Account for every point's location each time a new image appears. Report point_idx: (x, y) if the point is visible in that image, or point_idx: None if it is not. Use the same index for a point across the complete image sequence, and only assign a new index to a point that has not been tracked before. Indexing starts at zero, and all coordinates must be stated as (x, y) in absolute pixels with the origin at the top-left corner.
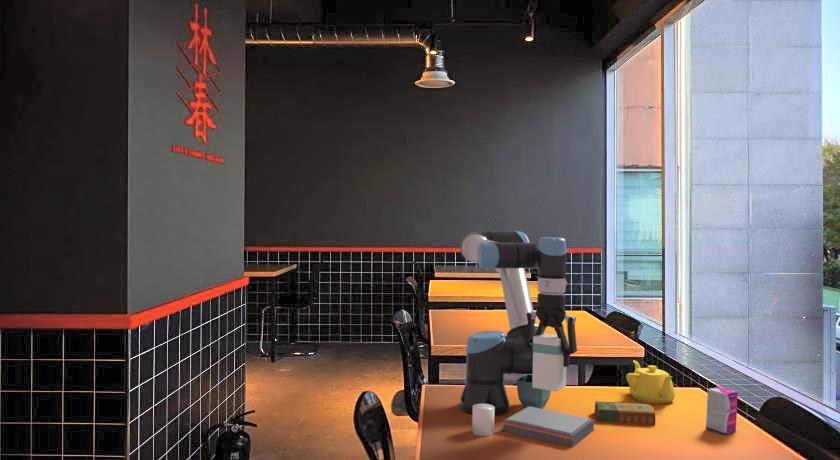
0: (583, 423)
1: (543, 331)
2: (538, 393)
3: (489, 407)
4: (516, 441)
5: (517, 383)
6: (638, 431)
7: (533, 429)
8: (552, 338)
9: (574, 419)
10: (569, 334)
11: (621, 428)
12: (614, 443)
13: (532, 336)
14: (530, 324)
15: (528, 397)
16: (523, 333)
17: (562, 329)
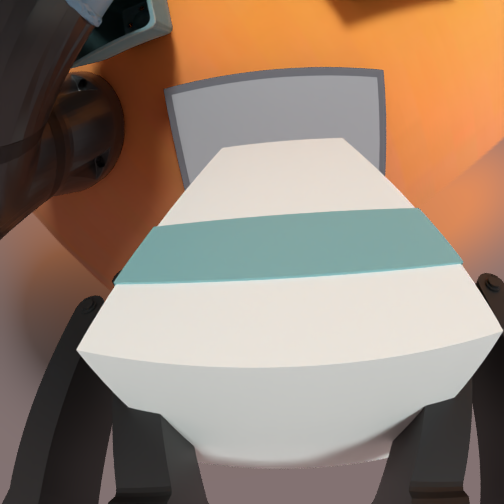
0: (378, 130)
1: (176, 463)
2: (154, 34)
3: None
4: None
5: (77, 66)
6: (448, 29)
7: None
8: (349, 460)
9: (345, 111)
10: (490, 448)
11: (415, 24)
12: (437, 135)
13: (85, 375)
14: (93, 500)
15: (130, 47)
16: None
17: (447, 494)
